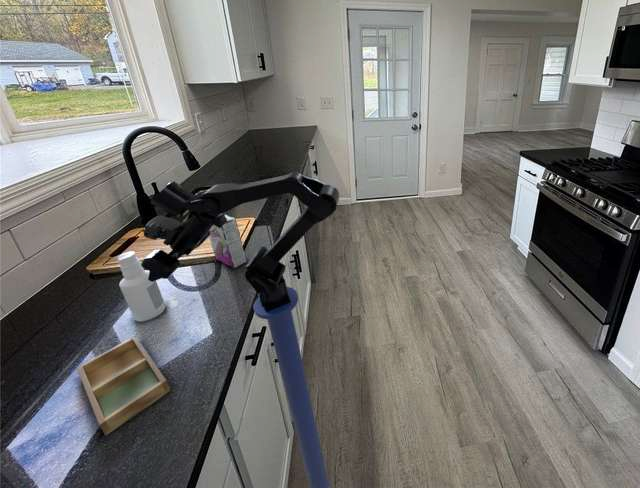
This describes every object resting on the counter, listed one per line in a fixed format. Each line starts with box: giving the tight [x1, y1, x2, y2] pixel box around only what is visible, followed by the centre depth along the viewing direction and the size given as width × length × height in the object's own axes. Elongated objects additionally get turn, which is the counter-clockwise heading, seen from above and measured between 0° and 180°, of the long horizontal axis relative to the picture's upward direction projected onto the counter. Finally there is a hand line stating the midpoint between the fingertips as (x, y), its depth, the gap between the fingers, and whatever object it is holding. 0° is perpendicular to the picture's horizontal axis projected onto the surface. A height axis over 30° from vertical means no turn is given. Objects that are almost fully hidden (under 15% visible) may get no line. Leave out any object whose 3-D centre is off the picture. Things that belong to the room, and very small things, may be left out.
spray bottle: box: [117, 250, 166, 322], centre depth 80 cm, size 7×7×18 cm
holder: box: [76, 335, 172, 437], centre depth 64 cm, size 10×19×3 cm, turn 53°
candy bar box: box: [208, 214, 248, 269], centre depth 102 cm, size 11×5×16 cm, turn 58°
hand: (162, 268), depth 79 cm, fingers open, 9 cm apart
